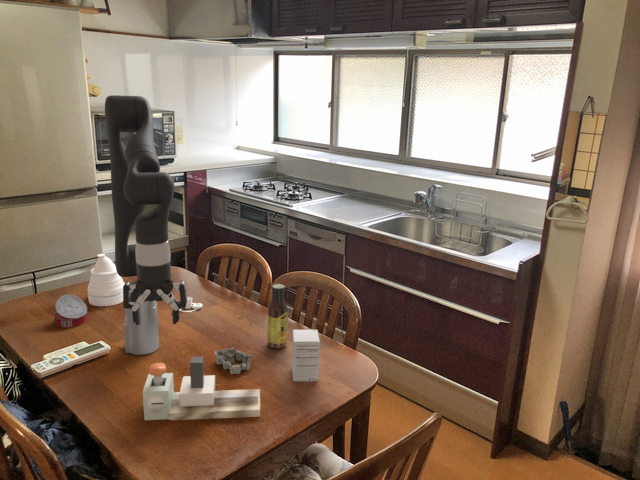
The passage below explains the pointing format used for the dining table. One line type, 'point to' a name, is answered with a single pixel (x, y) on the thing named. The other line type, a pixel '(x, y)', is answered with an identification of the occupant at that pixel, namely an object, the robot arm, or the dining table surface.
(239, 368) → the grey jagged ring
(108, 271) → the honey pot
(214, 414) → the rail board
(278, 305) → the sauce bottle
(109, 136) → the robot arm
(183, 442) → the dining table surface
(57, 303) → the canned food
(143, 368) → the dining table surface
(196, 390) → the carriage
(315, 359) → the supplement box
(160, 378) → the plunger
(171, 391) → the cabinet
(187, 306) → the teacup and saucer
